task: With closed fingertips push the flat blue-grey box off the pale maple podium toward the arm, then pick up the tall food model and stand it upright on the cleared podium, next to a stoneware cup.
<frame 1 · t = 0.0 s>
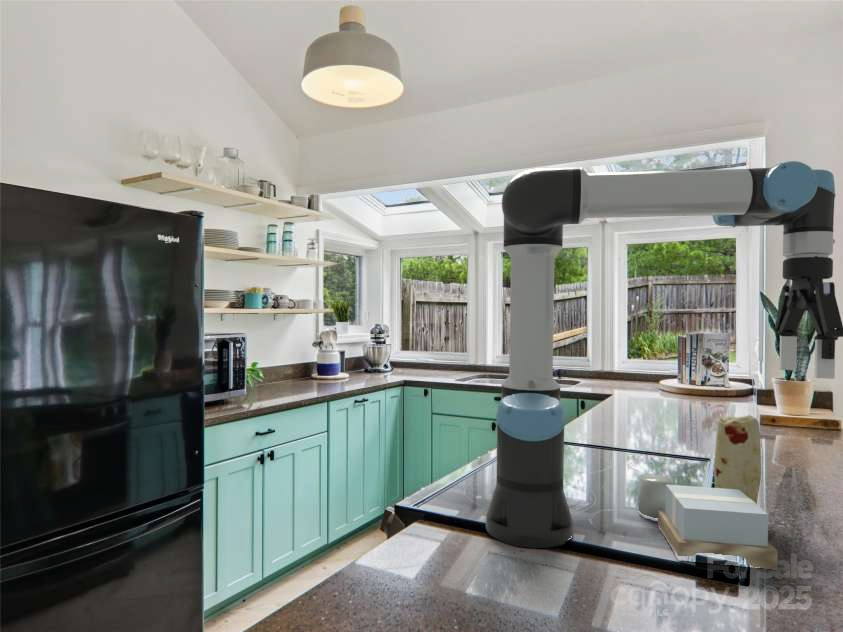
hand: (804, 374, 101), 28 cm above the cooktop, fingers open, 13 cm apart
food model: (735, 522, 103), on the cooktop
flat box: (712, 528, 92), point 3 cm above the cooktop, touching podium
stoneware cup: (656, 515, 106), on the cooktop
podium: (712, 546, 92), on the cooktop
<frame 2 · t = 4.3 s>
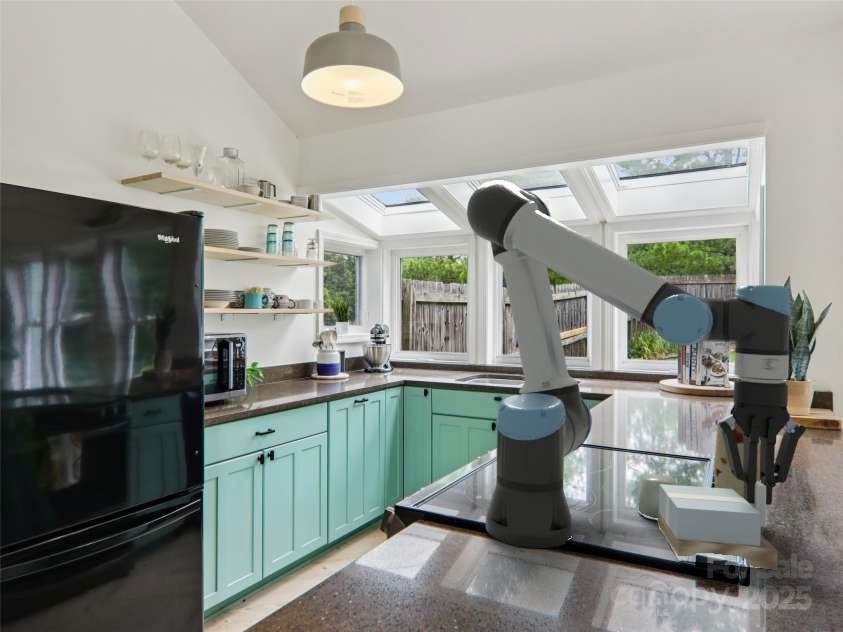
hand: (756, 522, 91), 5 cm above the cooktop, fingers closed
flat box: (705, 527, 92), point 3 cm above the cooktop, touching gripper, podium
everything else where it was.
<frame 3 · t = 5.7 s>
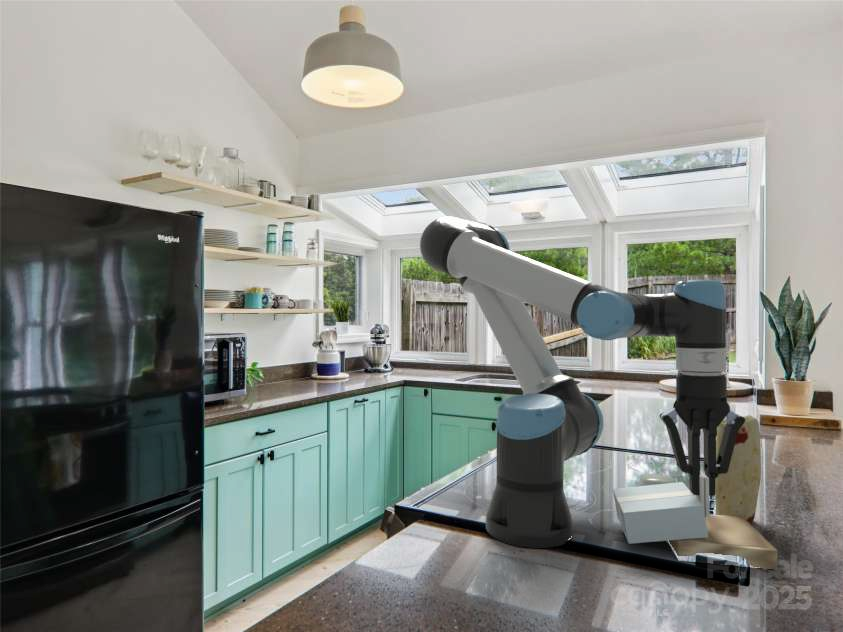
hand: (702, 514, 92), 5 cm above the cooktop, fingers closed
flat box: (659, 525, 93), point 3 cm above the cooktop, tilted 10°, touching gripper, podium
everything else where it was.
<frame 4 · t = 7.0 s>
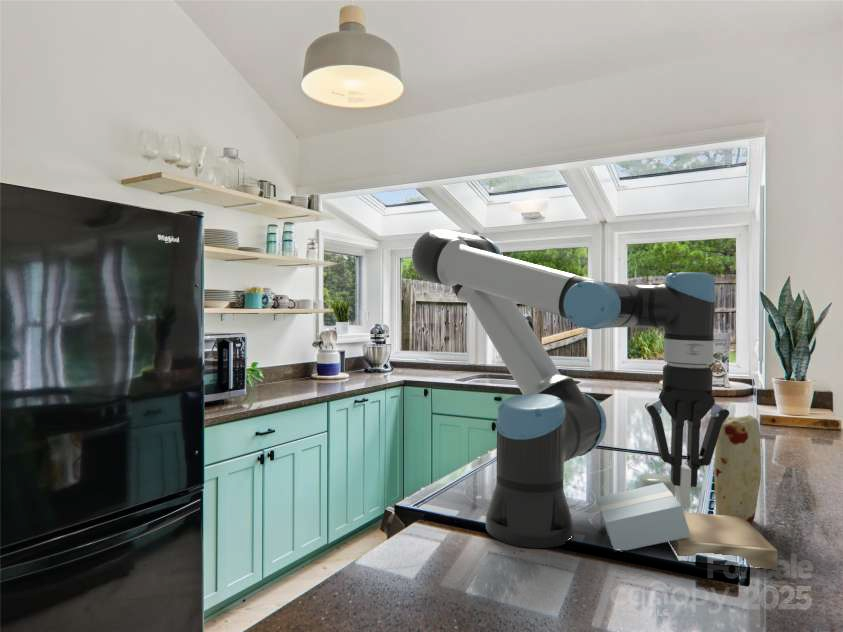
hand: (682, 504, 93), 7 cm above the cooktop, fingers closed
flat box: (644, 530, 94), point 2 cm above the cooktop, tilted 18°, touching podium
everything else where it was.
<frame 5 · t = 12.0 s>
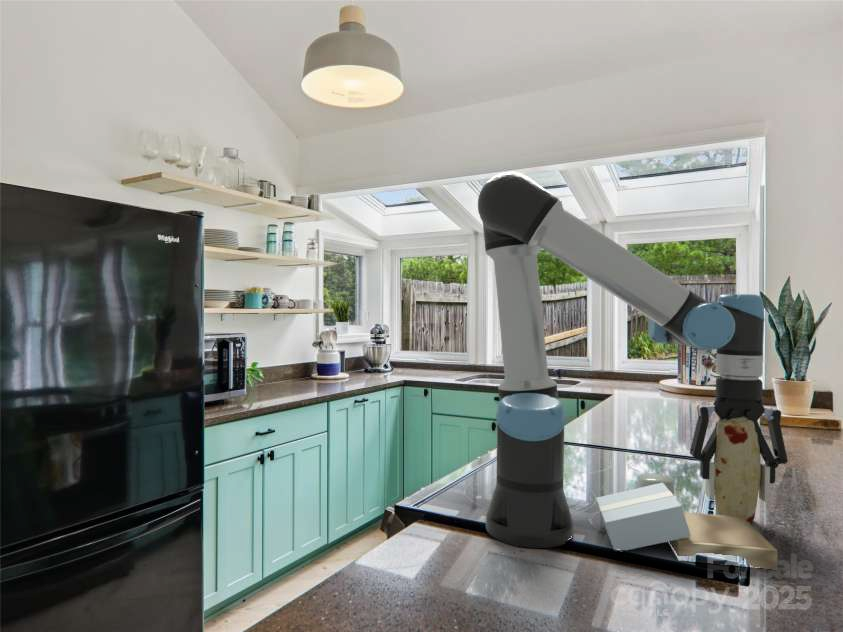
hand: (736, 498, 103), 4 cm above the cooktop, fingers closed on food model, 9 cm apart
food model: (735, 522, 103), on the cooktop, touching gripper
everything else where it was.
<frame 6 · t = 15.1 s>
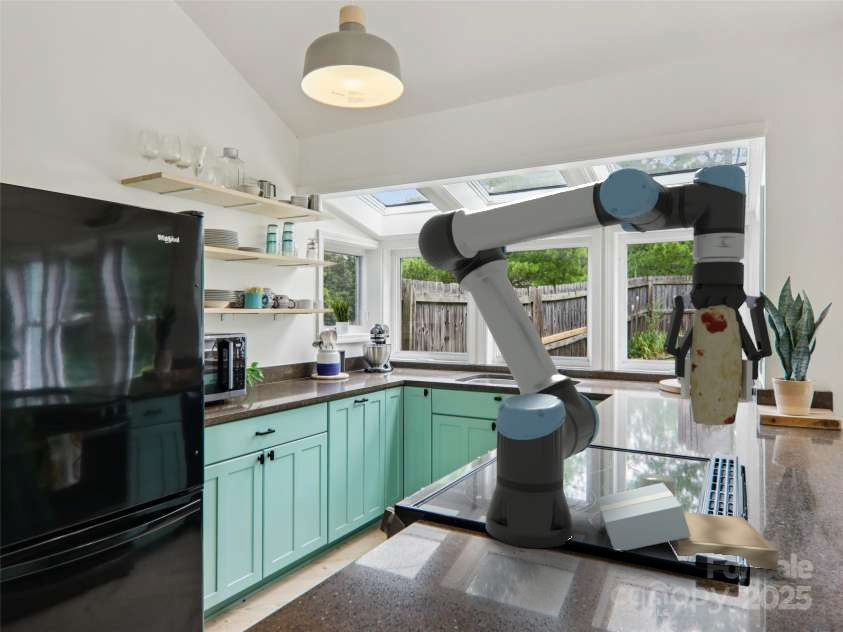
hand: (715, 398, 92), 25 cm above the cooktop, fingers closed on food model, 9 cm apart
food model: (714, 425, 92), point 20 cm above the cooktop, touching gripper
everything else where it was.
when the fingers open (9 cm above the cooktop, at t = 18.4 s): food model drops 1 cm, resting on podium.
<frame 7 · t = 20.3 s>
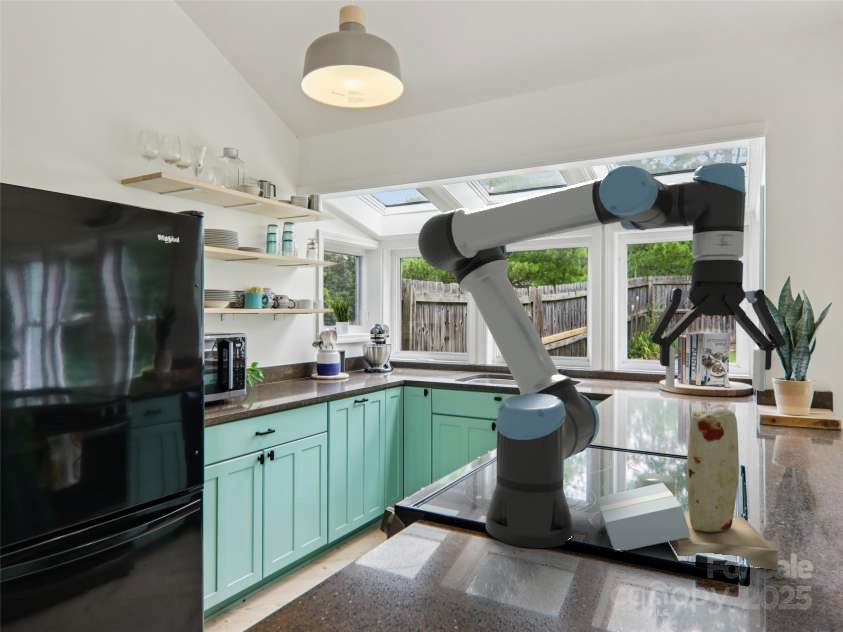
hand: (713, 388, 92), 26 cm above the cooktop, fingers open, 13 cm apart
food model: (711, 529, 92), point 3 cm above the cooktop, touching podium
everything else where it was.
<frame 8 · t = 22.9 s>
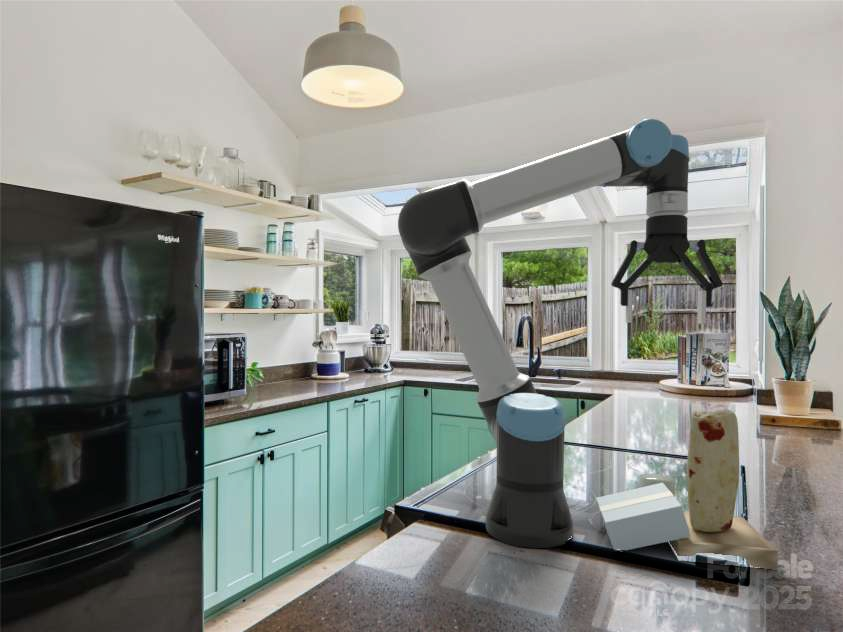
hand: (664, 323, 110), 37 cm above the cooktop, fingers open, 13 cm apart
nothing on the cooktop moved.
at the end: food model 0.2 cm from the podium (horizontally); food model touching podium; food model tilted 0° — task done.
